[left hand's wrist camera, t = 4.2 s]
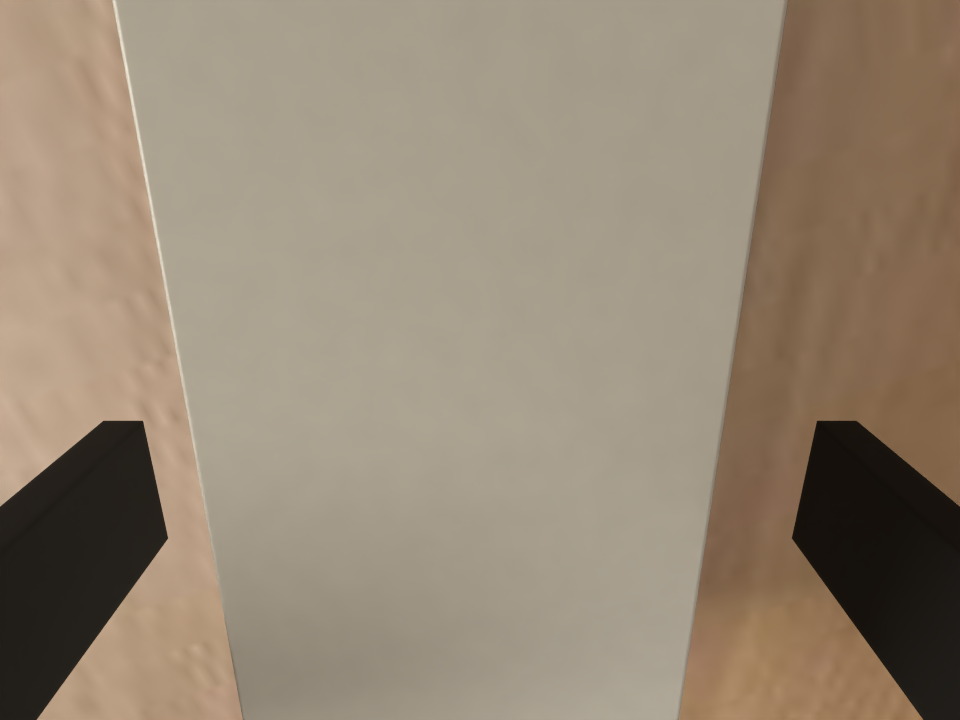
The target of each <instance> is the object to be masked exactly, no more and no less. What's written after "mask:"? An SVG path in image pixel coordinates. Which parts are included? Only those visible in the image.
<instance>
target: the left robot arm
mask: <svg viewBox="0 0 960 720" xmlns="http://www.w3.org/2000/svg"><path fill="white" fill-rule="evenodd" d="M167 539H168V536H167V531H166V526H165V522H164V517H163V512H162V508H161V503H160V498H159V494H158V489H157V484H156V480H155V475H154V470H153V466H152V461H151V456H150V452H149V447H148V442H147V438H146V433H145V428H144V424H143V421H103V422H102V423H100V424H99V425H98V426H97V427H96V428H94V429H93V430H92V431H91V432H90V433H88V434H87V435H86V436H85V437H84V438H82V439H81V440H80V441H79V442H78V443H76V444H75V445H74V446H73V447H72V448H70V449H69V450H68V451H67V452H66V453H64V454H63V455H62V456H61V457H59V458H58V459H57V460H56V461H55V462H53V463H52V464H51V465H50V466H49V467H47V468H46V469H45V470H44V471H43V472H41V473H40V474H39V475H38V476H37V477H35V478H34V479H33V480H32V481H31V482H29V483H28V484H27V485H26V486H25V487H23V488H22V489H21V490H20V491H19V492H17V493H16V494H15V495H14V496H13V497H11V498H10V499H9V500H8V501H7V502H5V503H4V504H3V505H2V506H1V507H0V720H37V718H38V717H39V716H40V714H41V713H42V712H43V710H44V709H45V707H46V706H47V705H48V703H49V702H50V700H51V699H52V698H53V696H54V695H55V694H56V692H57V691H58V689H59V688H60V687H61V685H62V684H63V683H64V681H65V680H66V678H67V677H68V676H69V674H70V673H71V672H72V670H73V669H74V667H75V666H76V665H77V663H78V662H79V660H80V659H81V658H82V656H83V655H84V654H85V652H86V651H87V649H88V648H89V647H90V645H91V644H92V643H93V641H94V640H95V638H96V637H97V636H98V634H99V633H100V632H101V630H102V629H103V627H104V626H105V625H106V623H107V622H108V620H109V619H110V618H111V616H112V615H113V614H114V612H115V611H116V609H117V608H118V607H119V605H120V604H121V603H122V601H123V600H124V598H125V597H126V596H127V594H128V593H129V592H130V590H131V589H132V587H133V586H134V585H135V583H136V582H137V580H138V579H139V578H140V576H141V575H142V574H143V572H144V571H145V569H146V568H147V567H148V565H149V564H150V563H151V561H152V560H153V558H154V557H155V556H156V554H157V553H158V552H159V550H160V549H161V547H162V546H163V545H164V543H165V542H166V540H167ZM792 539H793V540H794V542H795V543H796V545H797V546H798V547H799V549H800V550H801V552H802V553H803V554H804V556H805V557H806V558H807V560H808V561H809V563H810V564H811V565H812V567H813V568H814V569H815V571H816V572H817V574H818V575H819V576H820V578H821V579H822V580H823V582H824V583H825V585H826V586H827V587H828V589H829V590H830V592H831V593H832V594H833V596H834V597H835V598H836V600H837V601H838V603H839V604H840V605H841V607H842V608H843V609H844V611H845V612H846V614H847V615H848V616H849V618H850V619H851V620H852V622H853V623H854V625H855V626H856V627H857V629H858V630H859V632H860V633H861V634H862V636H863V637H864V638H865V640H866V641H867V643H868V644H869V645H870V647H871V648H872V649H873V651H874V652H875V654H876V655H877V656H878V658H879V659H880V660H881V662H882V663H883V665H884V666H885V667H886V669H887V670H888V672H889V673H890V674H891V676H892V677H893V678H894V680H895V681H896V683H897V684H898V685H899V687H900V688H901V689H902V691H903V692H904V694H905V695H906V696H907V698H908V699H909V700H910V702H911V703H912V705H913V706H914V707H915V709H916V710H917V712H918V713H919V714H920V716H921V717H922V718H923V720H960V507H959V506H958V505H957V504H956V503H955V502H953V501H952V500H951V499H950V498H949V497H947V496H946V495H945V494H944V493H943V492H941V491H940V490H939V489H938V488H937V487H935V486H934V485H933V484H932V483H931V482H929V481H928V480H927V479H926V478H925V477H923V476H922V475H921V474H920V473H919V472H917V471H916V470H915V469H914V468H913V467H911V466H910V465H909V464H908V463H907V462H905V461H904V460H903V459H902V458H901V457H899V456H898V455H897V454H896V453H894V452H893V451H892V450H891V449H890V448H888V447H887V446H886V445H885V444H884V443H882V442H881V441H880V440H879V439H878V438H876V437H875V436H874V435H873V434H872V433H870V432H869V431H868V430H867V429H866V428H864V427H863V426H862V425H861V424H860V423H858V422H857V421H817V424H816V428H815V433H814V438H813V442H812V447H811V452H810V456H809V461H808V466H807V470H806V475H805V480H804V484H803V489H802V494H801V498H800V503H799V508H798V512H797V517H796V522H795V526H794V531H793V536H792Z"/></svg>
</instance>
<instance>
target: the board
mask: <svg viewBox="0 0 960 720" xmlns="http://www.w3.org/2000/svg"><path fill="white" fill-rule="evenodd" d="M112 1H113V6H114V12H115V17H116V23H117V28H118V34H119V39H120V45H121V50H122V56H123V61H124V67H125V72H126V78H127V83H128V89H129V94H130V100H131V105H132V111H133V116H134V122H135V127H136V133H137V138H138V144H139V149H140V155H141V160H142V166H143V171H144V177H145V182H146V188H147V193H148V199H149V205H150V210H151V216H152V221H153V227H154V232H155V238H156V243H157V249H158V254H159V260H160V265H161V271H162V276H163V282H164V287H165V293H166V298H167V304H168V309H169V315H170V320H171V326H172V331H173V337H174V342H175V348H176V353H177V359H178V364H179V370H180V375H181V381H182V386H183V392H184V397H185V403H186V408H187V414H188V420H189V425H190V431H191V436H192V442H193V447H194V453H195V458H196V464H197V469H198V475H199V480H200V486H201V491H202V497H203V502H204V508H205V513H206V519H207V524H208V530H209V535H210V541H211V546H212V552H213V557H214V563H215V568H216V574H217V579H218V585H219V590H220V596H221V601H222V607H223V612H224V618H225V624H226V629H227V635H228V640H229V646H230V651H231V657H232V662H233V668H234V673H235V679H236V684H237V690H238V695H239V701H240V706H241V712H242V717H243V720H679V715H680V708H681V701H682V695H683V688H684V682H685V675H686V668H687V662H688V655H689V649H690V642H691V636H692V629H693V622H694V616H695V609H696V603H697V596H698V589H699V583H700V576H701V570H702V563H703V557H704V550H705V543H706V537H707V530H708V524H709V517H710V510H711V504H712V497H713V491H714V484H715V478H716V471H717V464H718V458H719V451H720V445H721V438H722V431H723V425H724V418H725V412H726V405H727V399H728V392H729V385H730V379H731V372H732V366H733V359H734V352H735V346H736V339H737V333H738V326H739V320H740V313H741V306H742V300H743V293H744V287H745V280H746V273H747V267H748V260H749V254H750V247H751V241H752V234H753V227H754V221H755V214H756V208H757V201H758V194H759V188H760V181H761V175H762V168H763V162H764V155H765V148H766V142H767V135H768V129H769V122H770V115H771V109H772V102H773V96H774V89H775V83H776V76H777V69H778V63H779V56H780V50H781V43H782V37H783V30H784V23H785V17H786V10H787V4H788V0H112Z"/></svg>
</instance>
